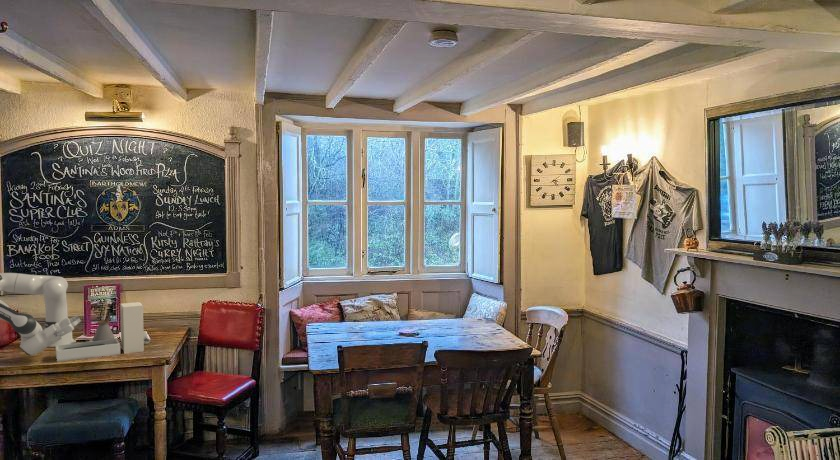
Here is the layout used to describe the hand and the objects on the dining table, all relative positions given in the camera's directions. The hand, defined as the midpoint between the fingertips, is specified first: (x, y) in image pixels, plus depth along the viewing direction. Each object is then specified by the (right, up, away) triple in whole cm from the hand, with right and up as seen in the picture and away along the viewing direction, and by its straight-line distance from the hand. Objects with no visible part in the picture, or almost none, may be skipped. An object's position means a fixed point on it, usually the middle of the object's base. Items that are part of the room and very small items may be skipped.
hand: (79, 317), depth 330 cm
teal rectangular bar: (+1, -20, +2) cm, 20 cm away
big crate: (+3, -21, +3) cm, 21 cm away
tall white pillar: (+21, -20, +15) cm, 33 cm away
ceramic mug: (+19, -20, +30) cm, 41 cm away
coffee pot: (-4, -19, +36) cm, 41 cm away
